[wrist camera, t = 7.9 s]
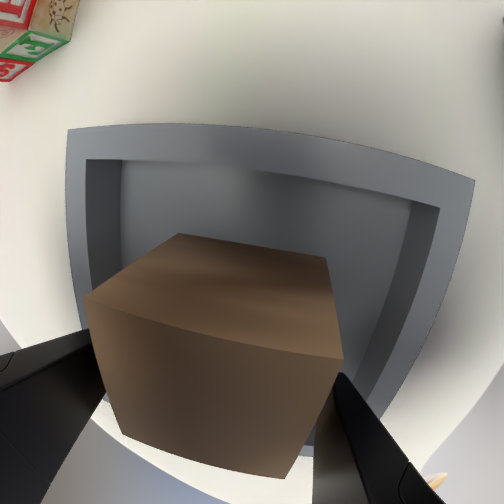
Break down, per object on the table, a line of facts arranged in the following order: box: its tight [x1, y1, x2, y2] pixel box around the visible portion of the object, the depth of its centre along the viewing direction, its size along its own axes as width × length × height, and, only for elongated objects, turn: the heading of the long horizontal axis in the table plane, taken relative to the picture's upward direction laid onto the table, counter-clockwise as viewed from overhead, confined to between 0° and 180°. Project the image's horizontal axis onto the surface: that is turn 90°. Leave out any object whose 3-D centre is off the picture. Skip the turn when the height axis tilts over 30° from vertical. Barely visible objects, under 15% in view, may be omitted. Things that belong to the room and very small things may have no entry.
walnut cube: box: [83, 233, 344, 479], centre depth 8 cm, size 5×5×5 cm
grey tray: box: [65, 124, 475, 457], centre depth 9 cm, size 12×12×2 cm
